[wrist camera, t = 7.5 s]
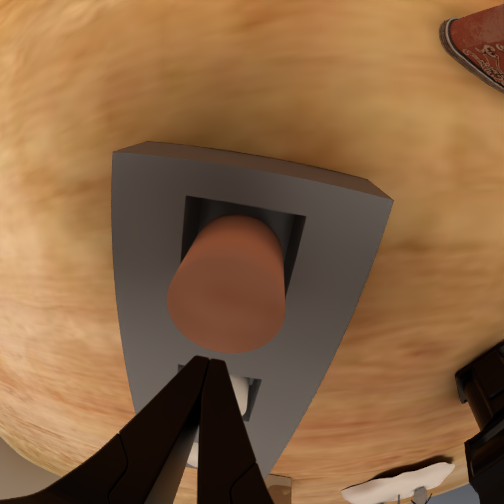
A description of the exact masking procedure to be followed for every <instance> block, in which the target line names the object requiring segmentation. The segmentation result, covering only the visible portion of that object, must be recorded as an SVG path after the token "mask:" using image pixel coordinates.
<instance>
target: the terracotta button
mask: <svg viewBox="0 0 504 504" xmlns="http://www.w3.org/2000/svg"><path fill="white" fill-rule="evenodd" d="M167 307H168V312H169V314H170V317H171V319H172V321H173V323H174V324H175V326H176V327H177V328H178V330H179V331H180V332H181V333H182V334H183V335H184V336H185V337H187V338H188V339H189V340H191V341H192V342H194V343H195V344H197V345H199V346H201V347H203V348H206V349H209V350H212V351H216V352H221V353H243V352H248V351H252V350H255V349H257V348H260V347H262V346H263V345H265V344H267V343H268V342H269V341H271V340H272V339H273V338H274V337H275V336H276V334H277V333H278V332H279V330H280V329H281V327H282V324H283V322H284V318H285V287H284V266H283V251H282V246H281V243H280V241H279V238H278V237H277V235H276V233H275V232H274V231H273V230H272V229H271V228H270V227H269V226H268V225H267V224H266V223H264V222H263V221H261V220H259V219H257V218H255V217H253V216H249V215H245V214H226V215H223V216H219V217H217V218H215V219H213V220H211V221H210V222H209V223H207V224H206V225H205V226H204V227H203V228H202V229H201V231H200V232H199V234H198V235H197V237H196V239H195V240H194V242H193V244H192V246H191V247H190V249H189V251H188V253H187V254H186V256H185V258H184V259H183V261H182V263H181V265H180V267H179V268H178V270H177V272H176V274H175V275H174V277H173V279H172V281H171V283H170V285H169V288H168V292H167Z"/></svg>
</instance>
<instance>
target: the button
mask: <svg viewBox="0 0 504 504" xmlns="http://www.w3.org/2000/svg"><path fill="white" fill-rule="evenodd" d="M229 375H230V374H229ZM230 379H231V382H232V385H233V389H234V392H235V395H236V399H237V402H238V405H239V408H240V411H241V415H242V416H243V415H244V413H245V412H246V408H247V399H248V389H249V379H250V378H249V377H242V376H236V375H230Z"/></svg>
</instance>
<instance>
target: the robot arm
mask: <svg viewBox="0 0 504 504" xmlns="http://www.w3.org/2000/svg"><path fill="white" fill-rule="evenodd" d="M455 378H456V382H457V387H458V392H459V396H460V401H461V403H462V404H464V403H466V402H468V403H469V405H470V407H471V410H472V412H473V414H474V417H475V419H476V421H477V424H478V426H479V428H480V432H479V433H478V434H477V435H475V436H474V437H473V438H471V439H468V440H467V441H466V442H464V444H465V454H466V461H467V468H468V476H469V482H470V485H471V486H472V487H473V488H474V490H475V491H476V492H477V493H478V494H479V499H480V504H504V341H503V342H502V343H501V344H499V345H498V346H497V347H495V348H494V349H492V350H491V351H490V352H488V353H487V354H485V355H484V356H482V357H481V358H479V359H478V360H476V361H475V362H473V363H472V364H470V365H469V366H467V367H466V368H464V369H462V370H461V371H459V372H458V373H457V374H456V375H455ZM198 428H199V438H198V467H197V504H275V503H274V501H273V499H272V497H271V495H270V493H269V491H268V489H267V486H266V484H265V481H264V479H263V476H262V474H261V471H260V468H259V465H258V463H256V462H257V460H256V457H255V454H254V451H253V448H252V445H251V442H250V439H249V436H248V433H247V430H246V427H245V424H244V421H243V418H242V415H241V411H240V408H239V405H238V402H237V399H236V395H235V392H234V389H233V385H232V382H231V379H230V375H229V372H228V369H227V365H226V362H225V361H224V360H221V359H215V358H211V359H209V358H208V357H204V356H199V355H195V356H194V357H193V358H192V359H191V360H190V361H189V362H188V363H187V364H186V365H185V366H184V367H183V368H182V369H181V370H180V371H179V372H178V373H177V374H176V375H175V376H174V377H173V378H172V379H171V380H170V381H169V382H168V383H167V384H166V385H165V386H164V387H163V388H162V389H161V390H160V391H159V392H158V393H157V394H156V395H155V396H154V397H153V398H152V399H151V400H150V401H149V402H148V403H147V404H146V405H145V406H144V407H143V408H142V409H141V410H140V411H139V412H138V413H137V414H136V415H135V416H134V417H133V418H132V419H131V420H130V421H129V422H128V423H127V424H126V425H125V426H124V427H123V428H122V429H121V430H120V431H119V434H118V433H117V434H116V435H115V436H114V437H113V438H112V439H111V440H110V441H109V442H108V443H106V444H105V445H104V446H103V447H102V448H101V449H100V450H99V451H97V452H96V453H95V454H94V455H93V456H91V457H90V458H89V459H87V460H86V461H85V462H83V463H82V464H81V465H79V466H78V467H76V468H75V469H73V470H72V471H71V472H69V473H68V474H66V475H65V476H63V477H62V478H60V479H59V480H57V481H56V482H54V483H53V484H51V485H50V486H48V487H46V488H45V489H43V490H41V491H39V492H36V493H34V494H31V495H27V496H22V497H16V498H10V499H3V500H0V504H173V501H174V498H175V496H176V493H177V490H178V487H179V484H180V481H181V478H182V475H183V472H184V469H185V466H186V464H187V461H188V458H189V455H190V452H191V449H192V446H193V443H194V440H195V437H196V434H197V431H198Z"/></svg>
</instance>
